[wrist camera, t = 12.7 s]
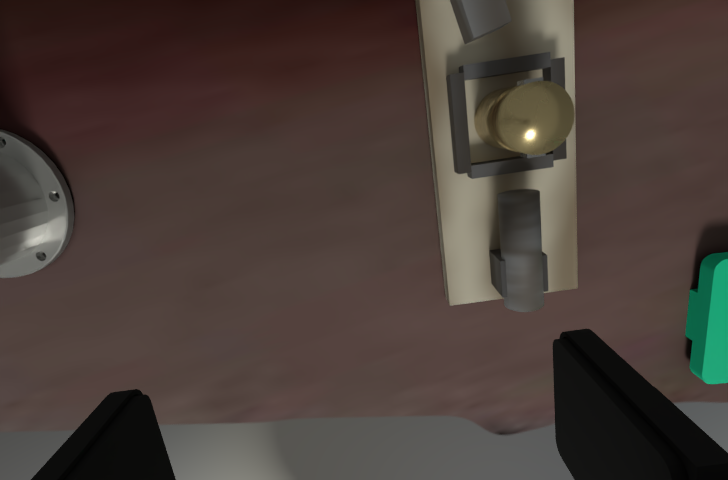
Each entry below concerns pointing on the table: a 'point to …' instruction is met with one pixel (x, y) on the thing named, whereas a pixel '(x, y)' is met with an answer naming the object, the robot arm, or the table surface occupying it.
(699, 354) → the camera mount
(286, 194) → the table surface
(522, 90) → the yellow round-topped cylinder
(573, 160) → the stand
